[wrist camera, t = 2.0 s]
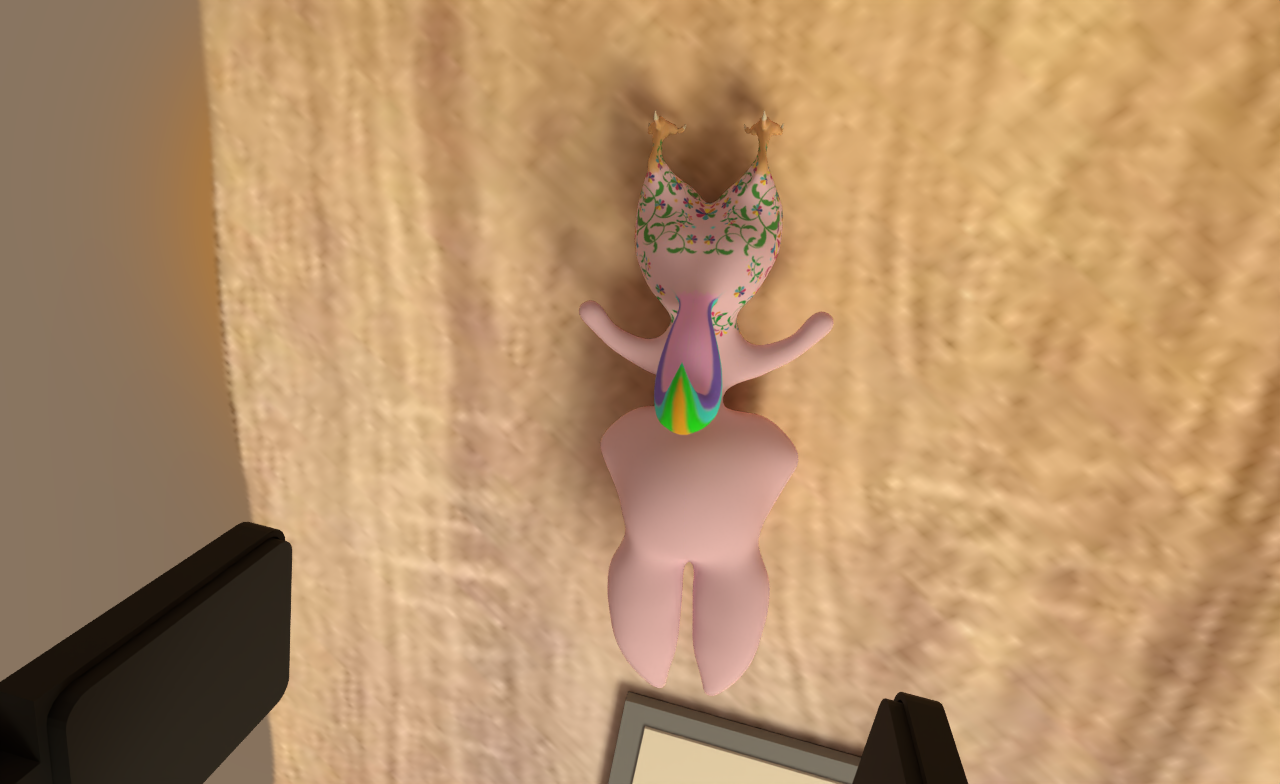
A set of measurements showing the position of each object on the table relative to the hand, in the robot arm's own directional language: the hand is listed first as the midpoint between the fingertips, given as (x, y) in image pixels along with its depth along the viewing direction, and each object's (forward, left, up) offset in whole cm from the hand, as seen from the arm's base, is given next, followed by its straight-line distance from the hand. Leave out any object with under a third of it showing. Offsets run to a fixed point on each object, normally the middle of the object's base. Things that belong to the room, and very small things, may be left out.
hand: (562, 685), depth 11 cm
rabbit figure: (-1, +1, -11) cm, 11 cm away
